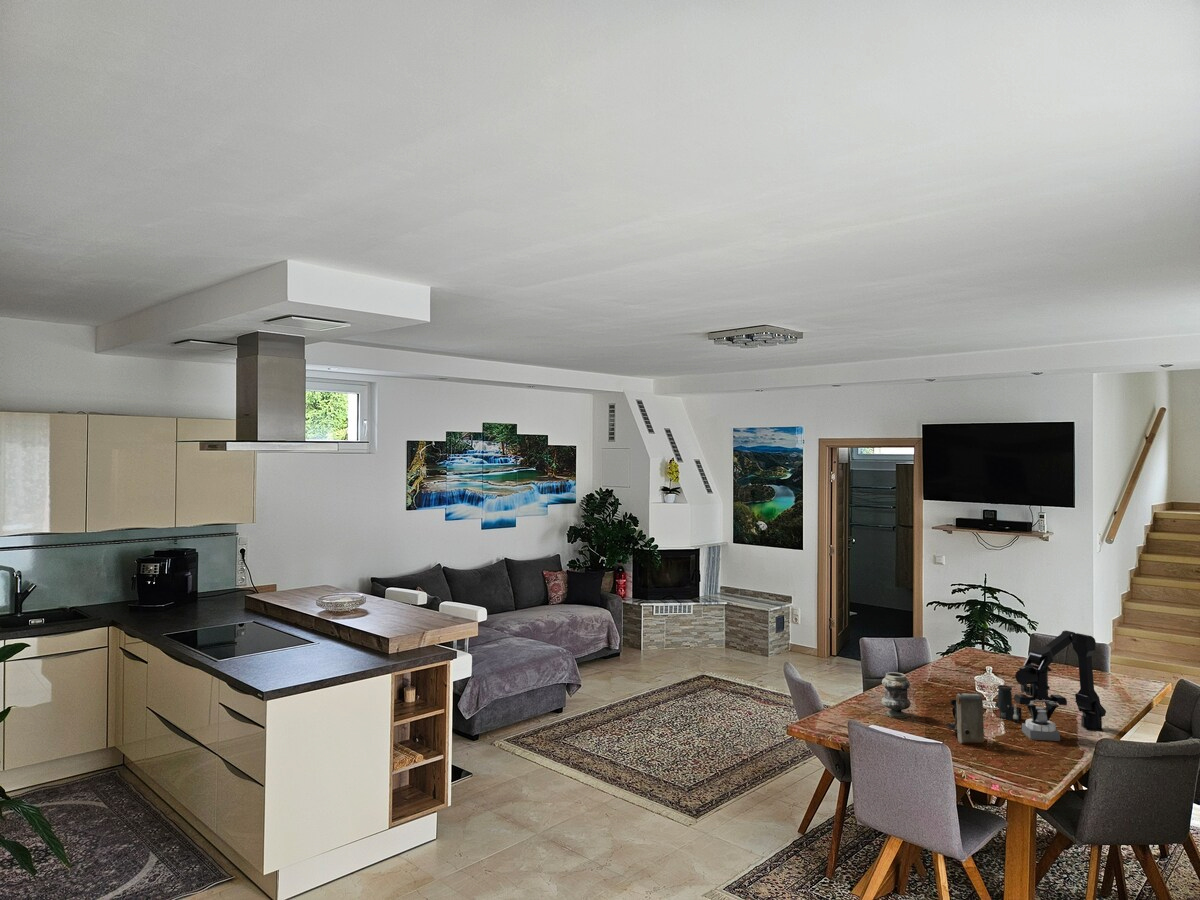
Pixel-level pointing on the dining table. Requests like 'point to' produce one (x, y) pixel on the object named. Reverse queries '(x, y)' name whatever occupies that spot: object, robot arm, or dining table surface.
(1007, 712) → the scope
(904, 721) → the dining table surface
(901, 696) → the grey stone urn
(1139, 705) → the dining table surface
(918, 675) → the dining table surface
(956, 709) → the vintage camera
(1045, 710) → the door knob
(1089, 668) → the robot arm
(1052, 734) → the segmented white collar
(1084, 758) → the dining table surface
